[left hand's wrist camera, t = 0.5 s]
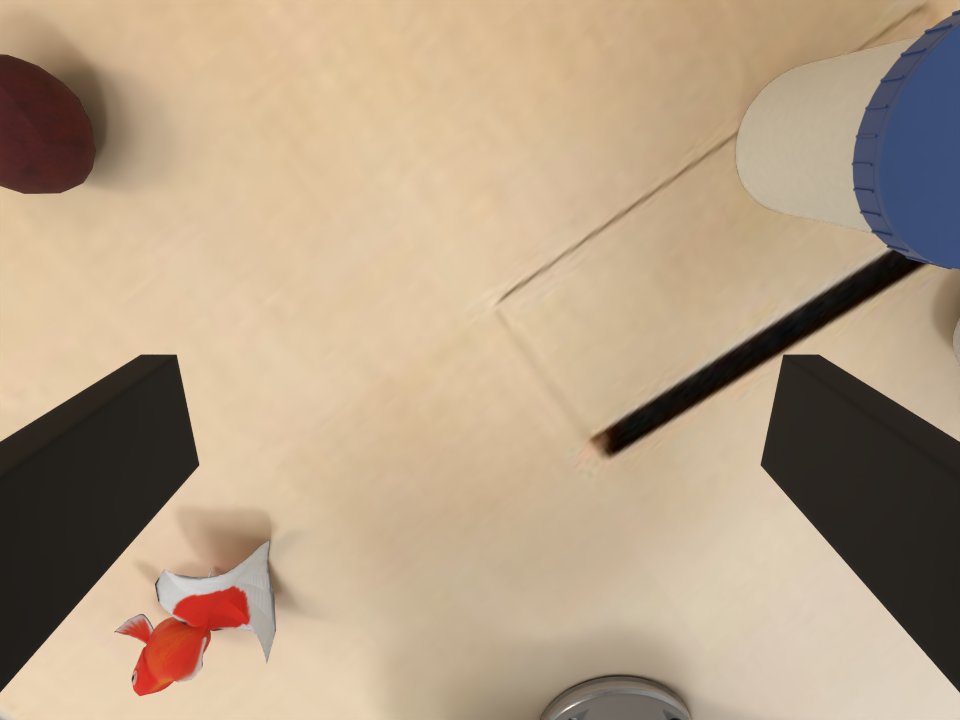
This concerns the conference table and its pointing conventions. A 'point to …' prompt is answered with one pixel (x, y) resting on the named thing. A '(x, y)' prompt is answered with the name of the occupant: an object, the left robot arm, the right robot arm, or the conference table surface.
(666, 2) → the conference table surface
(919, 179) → the lid
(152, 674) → the fish
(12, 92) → the dark red ball
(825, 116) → the jar
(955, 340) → the projector
